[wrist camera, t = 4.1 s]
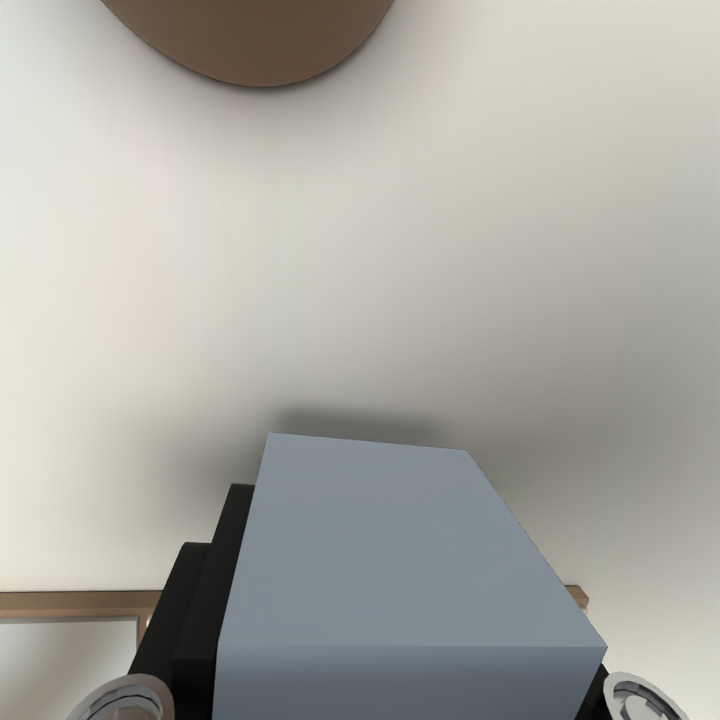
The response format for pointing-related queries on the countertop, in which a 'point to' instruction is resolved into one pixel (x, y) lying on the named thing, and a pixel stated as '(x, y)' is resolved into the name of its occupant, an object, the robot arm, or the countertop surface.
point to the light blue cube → (393, 595)
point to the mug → (253, 35)
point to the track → (75, 646)
